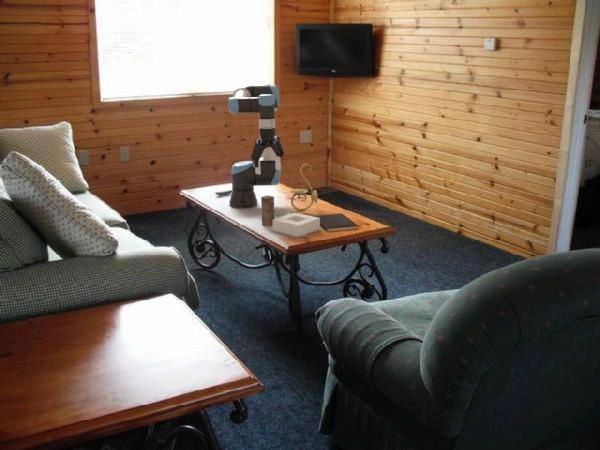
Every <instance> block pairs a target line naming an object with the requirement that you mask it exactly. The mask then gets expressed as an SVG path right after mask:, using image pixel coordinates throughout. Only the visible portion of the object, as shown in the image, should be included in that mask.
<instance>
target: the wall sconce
mask: <svg viewBox="0 0 600 450" xmlns="http://www.w3.org/2000/svg"><path fill="white" fill-rule="evenodd" d="M305 166H308V167H309V168H306V171H308V172H310V171H311V170H312V166H311V164H310V163H303V164H301V166H300V168H299V172H300V175H301V177H302V178H303V180H304V181H305V182H306V184H307V185H308V187H309V189H310V192H311V195H310V199H311V201H310V204H309V205H307V206H306V207H304V208H298V207H296V206H295V204H294V199H295V196H297V200H300V202H302V203H305V202H306V201H307V198H308V197H307V195H306V194H307V193H308V192H309V189H304V188H294V189H290V190H289V192H290V193H292V194H293V195H292V197H291V200H290V204H291V206H292V208H293V209H294V210H297V211H306V210H308V209H309V208H311V207H312V206H313V205H314V204H313V203H315V204H318V192H317V190H316V189H315V190H313V187H312V185H311V183H310V182H309V180H308V179H307V178H306V177H305V175H304V174H303V168H304V167H305ZM302 196H303V197H304V199H301V198H302Z"/></svg>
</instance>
